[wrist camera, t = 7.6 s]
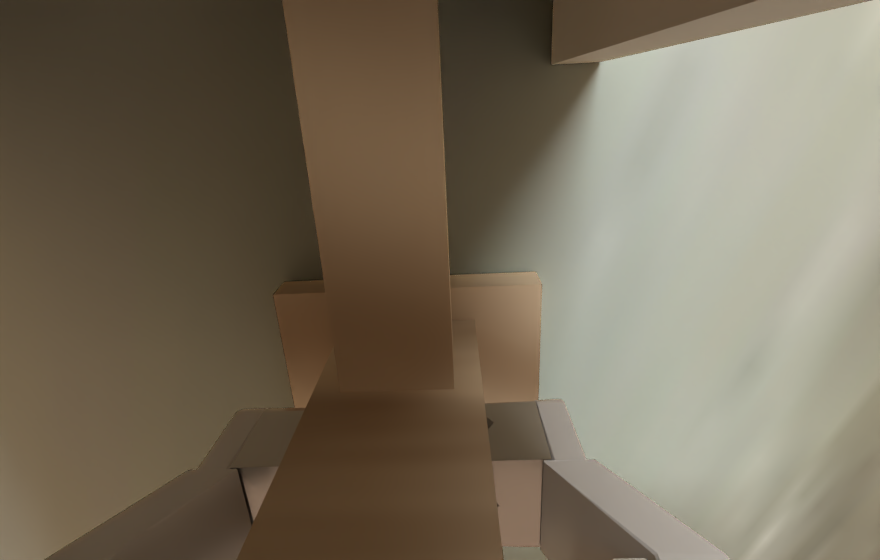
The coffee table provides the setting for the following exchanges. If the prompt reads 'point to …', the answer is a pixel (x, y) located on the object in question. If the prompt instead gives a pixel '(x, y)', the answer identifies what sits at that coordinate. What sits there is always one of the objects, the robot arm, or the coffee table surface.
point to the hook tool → (387, 311)
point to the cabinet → (660, 23)
